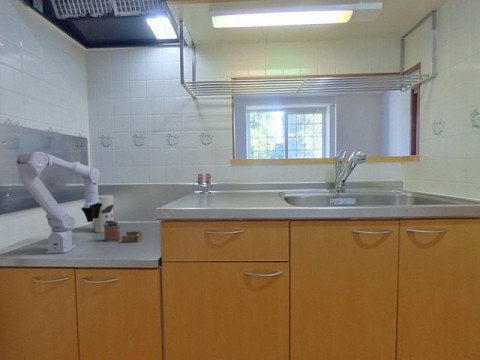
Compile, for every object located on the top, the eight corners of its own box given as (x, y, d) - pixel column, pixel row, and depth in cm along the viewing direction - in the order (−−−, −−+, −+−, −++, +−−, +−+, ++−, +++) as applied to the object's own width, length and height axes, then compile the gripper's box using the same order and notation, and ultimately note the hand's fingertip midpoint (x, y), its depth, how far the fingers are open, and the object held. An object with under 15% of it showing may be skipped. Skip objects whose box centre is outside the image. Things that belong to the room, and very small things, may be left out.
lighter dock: (138, 242, 127) (138, 236, 127) (121, 242, 126) (121, 236, 125) (142, 236, 137) (142, 231, 137) (127, 237, 135) (127, 231, 135)
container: (105, 233, 144) (104, 197, 143) (89, 232, 146) (89, 196, 145) (117, 229, 153) (117, 195, 152) (102, 228, 155) (102, 194, 154)
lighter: (121, 239, 131) (121, 220, 130) (118, 241, 127) (117, 221, 127) (106, 239, 132) (106, 219, 131) (102, 241, 128) (102, 221, 128)
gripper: (95, 194, 121) (96, 223, 122) (105, 190, 135) (106, 216, 136) (78, 194, 119) (80, 223, 120) (90, 190, 134) (91, 217, 135)
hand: (93, 219), depth 128 cm, fingers open, 7 cm apart
